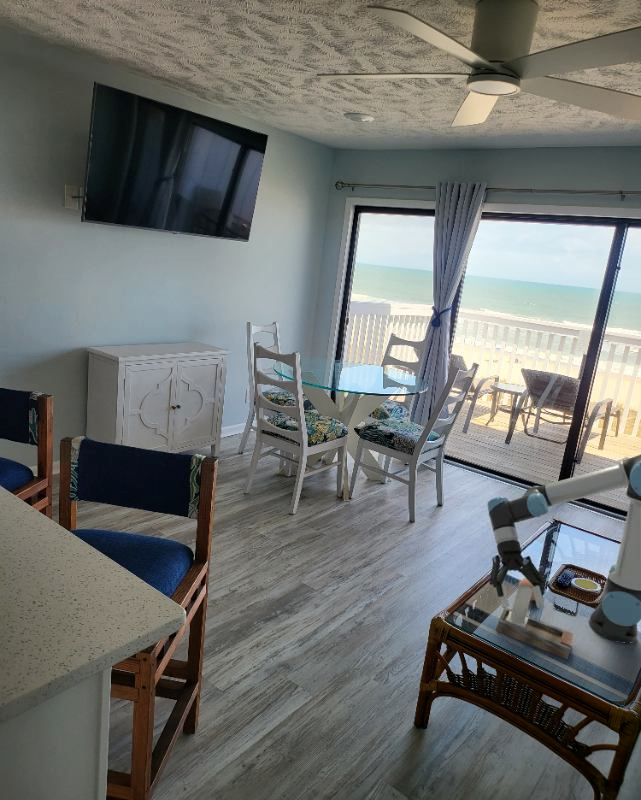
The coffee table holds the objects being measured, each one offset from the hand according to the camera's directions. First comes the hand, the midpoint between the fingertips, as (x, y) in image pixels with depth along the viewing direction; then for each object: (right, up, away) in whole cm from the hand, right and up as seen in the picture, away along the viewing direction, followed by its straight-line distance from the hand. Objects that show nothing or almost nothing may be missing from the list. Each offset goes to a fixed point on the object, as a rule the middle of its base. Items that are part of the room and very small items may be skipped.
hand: (523, 607), depth 196 cm
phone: (+25, -9, +28) cm, 38 cm away
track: (+3, -10, +1) cm, 10 cm away
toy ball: (+10, -6, +26) cm, 29 cm away
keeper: (-1, -6, +3) cm, 7 cm away
